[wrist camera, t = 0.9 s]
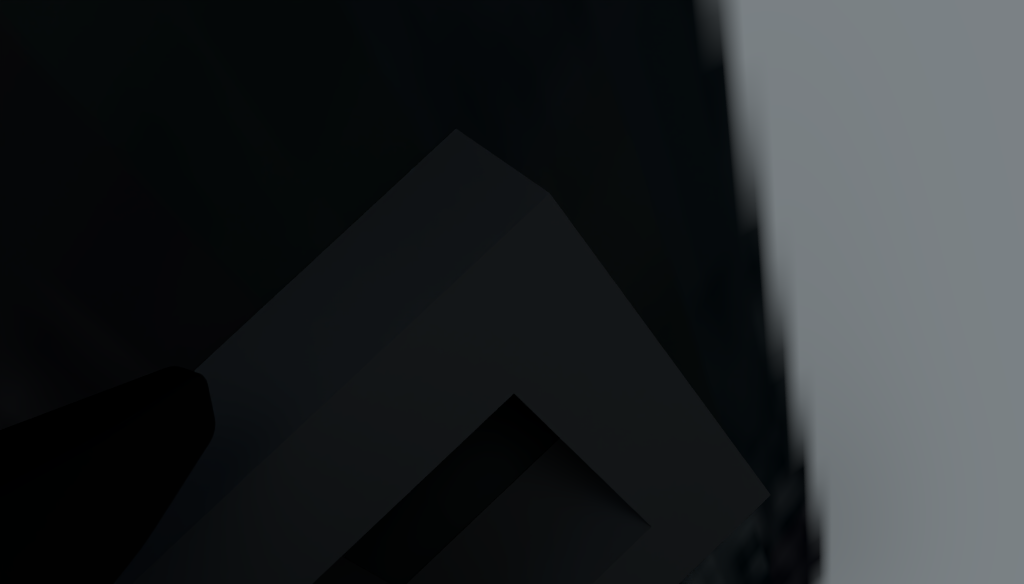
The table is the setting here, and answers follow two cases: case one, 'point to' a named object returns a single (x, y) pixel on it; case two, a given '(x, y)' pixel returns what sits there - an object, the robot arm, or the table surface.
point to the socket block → (451, 405)
